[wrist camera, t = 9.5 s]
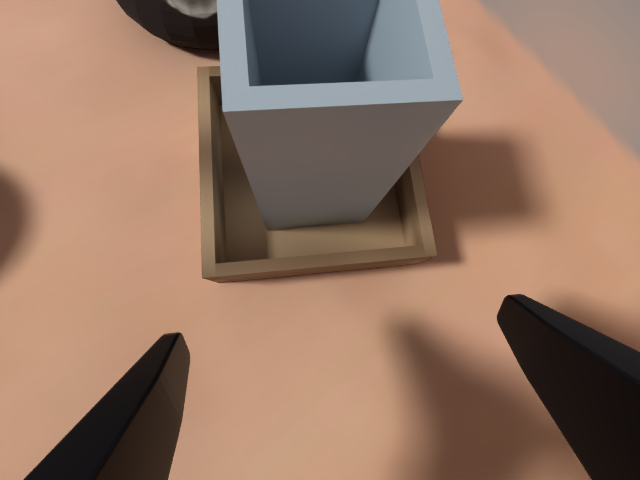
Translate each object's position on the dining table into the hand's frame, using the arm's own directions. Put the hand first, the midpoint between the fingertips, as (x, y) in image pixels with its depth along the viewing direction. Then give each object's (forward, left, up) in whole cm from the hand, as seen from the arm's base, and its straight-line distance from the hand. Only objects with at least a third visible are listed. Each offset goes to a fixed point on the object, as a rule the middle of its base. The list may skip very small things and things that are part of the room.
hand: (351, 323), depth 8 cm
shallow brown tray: (+8, -1, -8) cm, 12 cm away
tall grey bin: (+8, -1, -8) cm, 11 cm away
